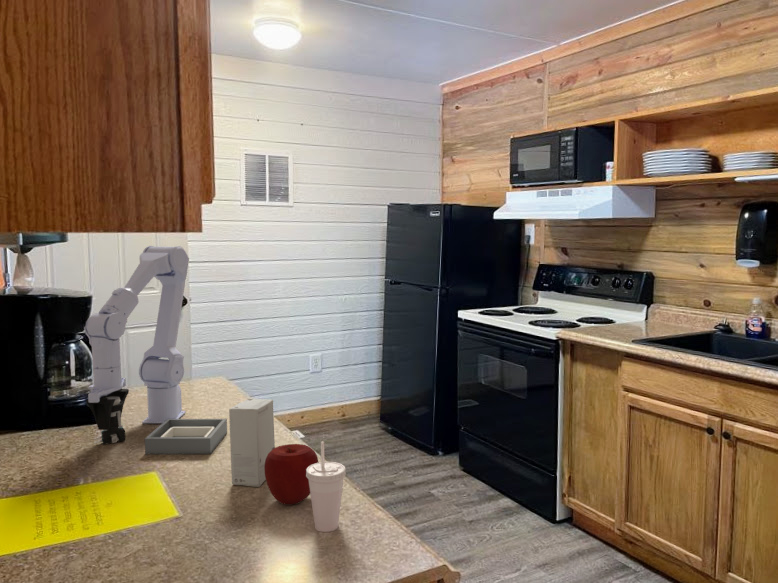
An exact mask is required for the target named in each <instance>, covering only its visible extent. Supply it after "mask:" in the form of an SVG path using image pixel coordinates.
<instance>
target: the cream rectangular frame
mask: <svg viewBox="0 0 778 583" xmlns="http://www.w3.org/2000/svg"><path fill="white" fill-rule="evenodd" d="M214 429H215V427H172V428H170V429H169V430H168V431H166V432H165V433H164V434H163V435H162V436H161V437H173V436H204V437H208V436H209V435H210V434H211V433H212V431H213V430H214Z"/></svg>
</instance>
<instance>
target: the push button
mask: <svg viewBox="0 0 778 583" xmlns="http://www.w3.org/2000/svg"><path fill="white" fill-rule="evenodd" d="M106 398H108V399H115V402H114V404H113V407H112V411H111V420H110V427H109V429H108V430H100V434H101V435H100V436H97V437H94V438H93V440H97V441H94V442H93V443H94V444H97V443H102V444H103V445H106V443H108V444H113V443H117V441H118V442H125V441H127V440H126V430H125V428H124V426H123V424H122V415H121V412H120V411H121V410H122V411H123V410H124V405H125V402H124V401H123V400H120V397H117V396H112V397H106ZM123 404H124V405H123ZM116 413H117V415H116ZM117 420H118V421H117ZM98 439H101V440H98Z"/></svg>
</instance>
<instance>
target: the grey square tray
mask: <svg viewBox="0 0 778 583" xmlns="http://www.w3.org/2000/svg"><path fill="white" fill-rule="evenodd" d="M172 427H215V429H214V430H213V431H212V433H211V434H210V435H209V436H208V437H204V436H173V437H161V436H162V435H163V434H164V433H165V432H166V431H168V430H169V429H170V428H172ZM227 434H228V418H179V419H167V420H166V421H165V422H163V423H160V425H159V426H158V427H156V428H155V429H154V430H153V431H152V432H150V433H149V434H148V435H147V436H145V438H144V451H145V452H144V454H145V455H211V454H212V453H213V452H214V451H215V449H216V448H217V447H218V446H219V444H220V443H221V442H220V441H223V439H224V438H225V437H226V435H227ZM224 436H225V437H224ZM216 446H217V447H216ZM213 450H214V451H213Z"/></svg>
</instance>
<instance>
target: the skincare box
mask: <svg viewBox="0 0 778 583" xmlns="http://www.w3.org/2000/svg"><path fill="white" fill-rule="evenodd" d="M228 411H229V413H228V414H229V438H230V469H231V472H230V473H231V485H236V486H246V487H254V488H259V487H261V486H262V484H264V482H266V478H265V468H264V466H265V459H266V457H267V455H268V453H269V452H270V451H272V450H273V449H274V448H276V445H275V441H276V440H275V423H274V422H275V421H274V418H275V417H274V400H273V399H265V398H262V399H260V398H247V399H245V400H243V401H240V402H238V403H236V405H234V406H232V407H230V408H229V410H228Z"/></svg>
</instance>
